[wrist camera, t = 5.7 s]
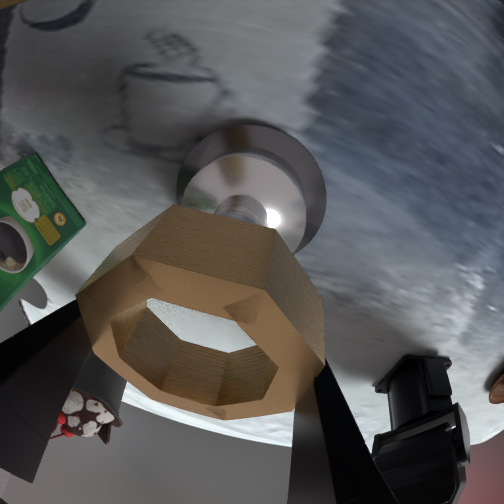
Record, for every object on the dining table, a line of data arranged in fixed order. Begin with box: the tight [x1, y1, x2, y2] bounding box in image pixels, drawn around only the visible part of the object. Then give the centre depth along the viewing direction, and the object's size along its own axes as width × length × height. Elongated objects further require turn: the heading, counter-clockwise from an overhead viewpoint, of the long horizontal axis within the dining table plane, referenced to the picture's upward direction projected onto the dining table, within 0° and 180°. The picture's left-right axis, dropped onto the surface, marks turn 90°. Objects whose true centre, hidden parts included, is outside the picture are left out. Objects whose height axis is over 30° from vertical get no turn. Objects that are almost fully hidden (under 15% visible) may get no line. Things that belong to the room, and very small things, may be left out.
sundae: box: [49, 348, 127, 444], centre depth 20 cm, size 7×7×15 cm
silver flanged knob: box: [177, 124, 326, 254], centre depth 15 cm, size 9×9×6 cm
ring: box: [75, 205, 325, 420], centre depth 9 cm, size 7×7×2 cm
